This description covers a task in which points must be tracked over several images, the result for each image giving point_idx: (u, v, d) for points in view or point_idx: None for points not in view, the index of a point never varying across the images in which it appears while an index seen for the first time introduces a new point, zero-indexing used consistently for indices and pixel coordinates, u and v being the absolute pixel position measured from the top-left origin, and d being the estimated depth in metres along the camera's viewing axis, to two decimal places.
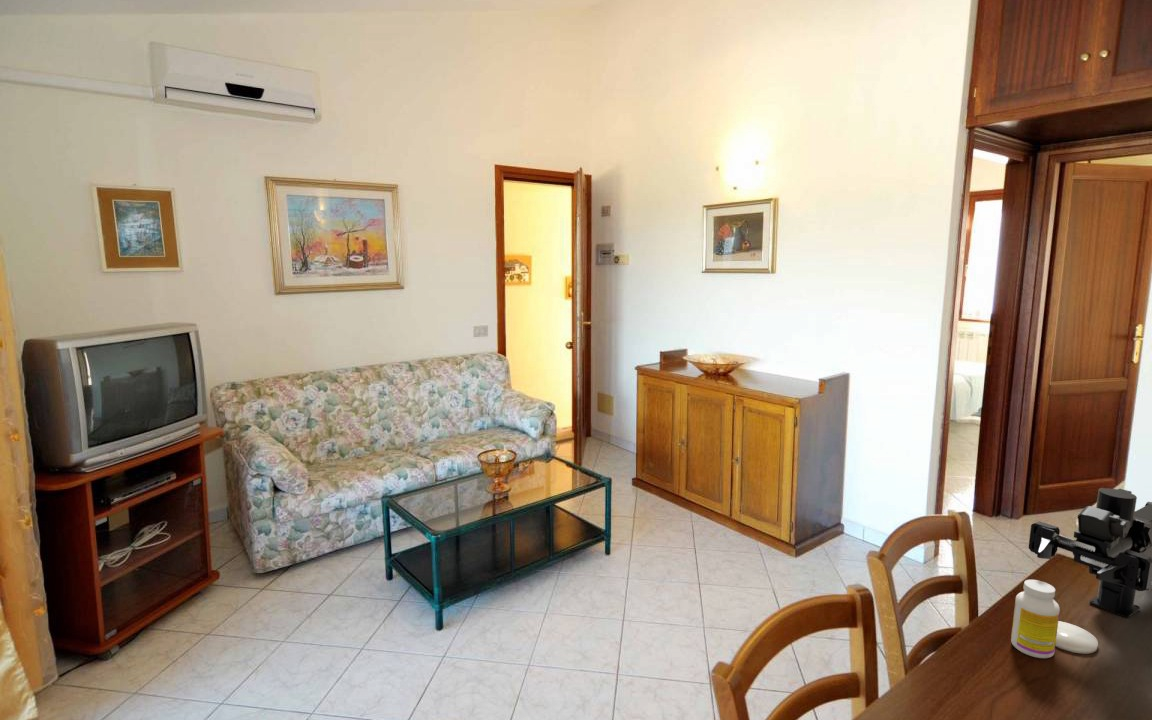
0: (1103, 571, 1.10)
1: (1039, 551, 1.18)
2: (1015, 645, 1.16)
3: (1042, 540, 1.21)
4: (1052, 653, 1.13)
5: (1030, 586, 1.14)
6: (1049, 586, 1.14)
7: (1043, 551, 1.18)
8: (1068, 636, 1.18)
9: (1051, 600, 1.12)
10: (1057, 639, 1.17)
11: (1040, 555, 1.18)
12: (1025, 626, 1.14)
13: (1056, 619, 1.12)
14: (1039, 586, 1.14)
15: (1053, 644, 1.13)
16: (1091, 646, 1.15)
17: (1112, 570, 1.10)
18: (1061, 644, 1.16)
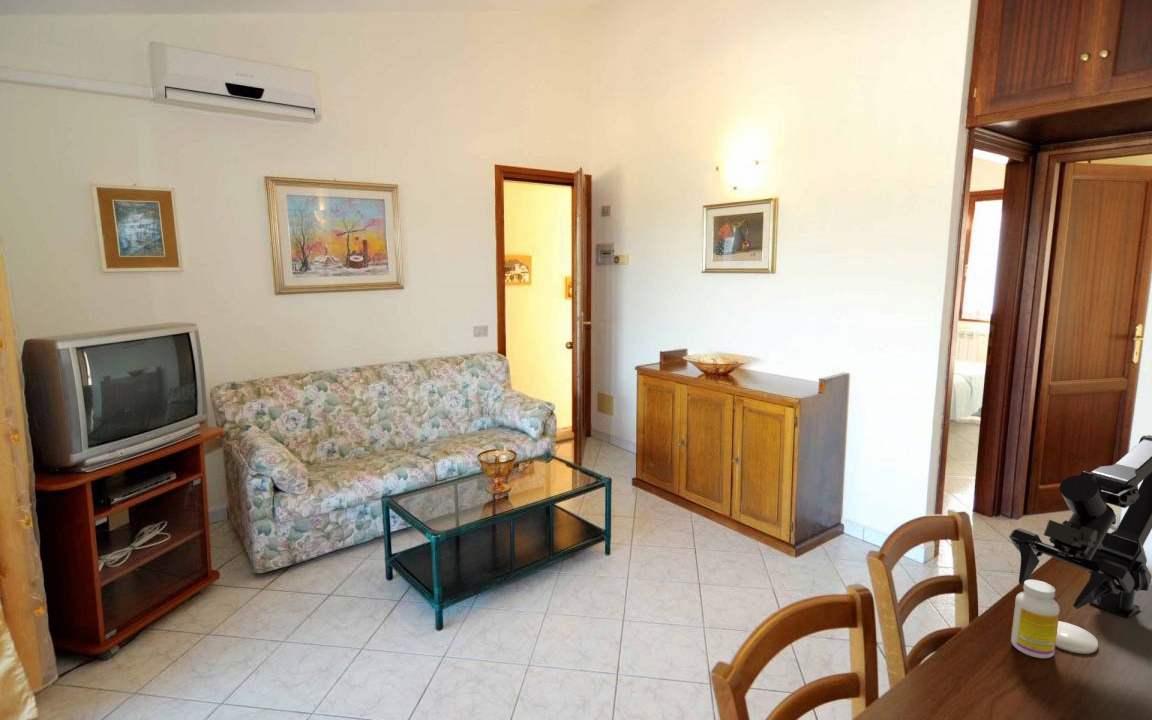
0: (1079, 601, 1.11)
1: (1020, 580, 1.20)
2: (1015, 645, 1.16)
3: (1021, 559, 1.21)
4: (1052, 653, 1.13)
5: (1030, 586, 1.14)
6: (1049, 586, 1.14)
7: (1024, 576, 1.20)
8: (1068, 636, 1.18)
9: (1051, 600, 1.12)
10: (1057, 639, 1.17)
11: (1022, 583, 1.20)
12: (1025, 626, 1.14)
13: (1056, 619, 1.12)
14: (1039, 586, 1.14)
15: (1053, 644, 1.13)
16: (1091, 646, 1.15)
17: (1088, 594, 1.11)
18: (1061, 644, 1.16)
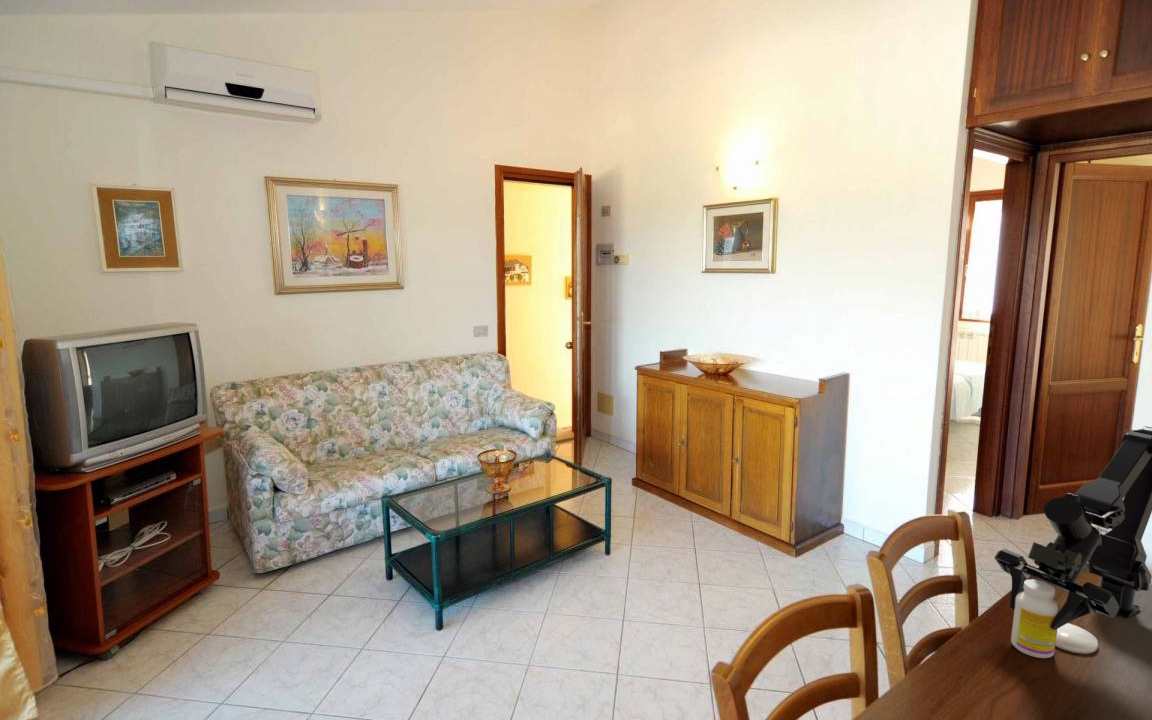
0: (1056, 622, 1.11)
1: (1011, 605, 1.17)
2: (1015, 645, 1.16)
3: (1013, 583, 1.19)
4: (1052, 653, 1.13)
5: (1030, 586, 1.14)
6: (1049, 586, 1.14)
7: None
8: (1068, 636, 1.18)
9: (1051, 600, 1.12)
10: (1057, 639, 1.17)
11: (1013, 608, 1.17)
12: (1025, 626, 1.14)
13: None
14: (1039, 586, 1.14)
15: (1053, 644, 1.13)
16: (1091, 646, 1.15)
17: (1065, 615, 1.11)
18: (1061, 644, 1.16)
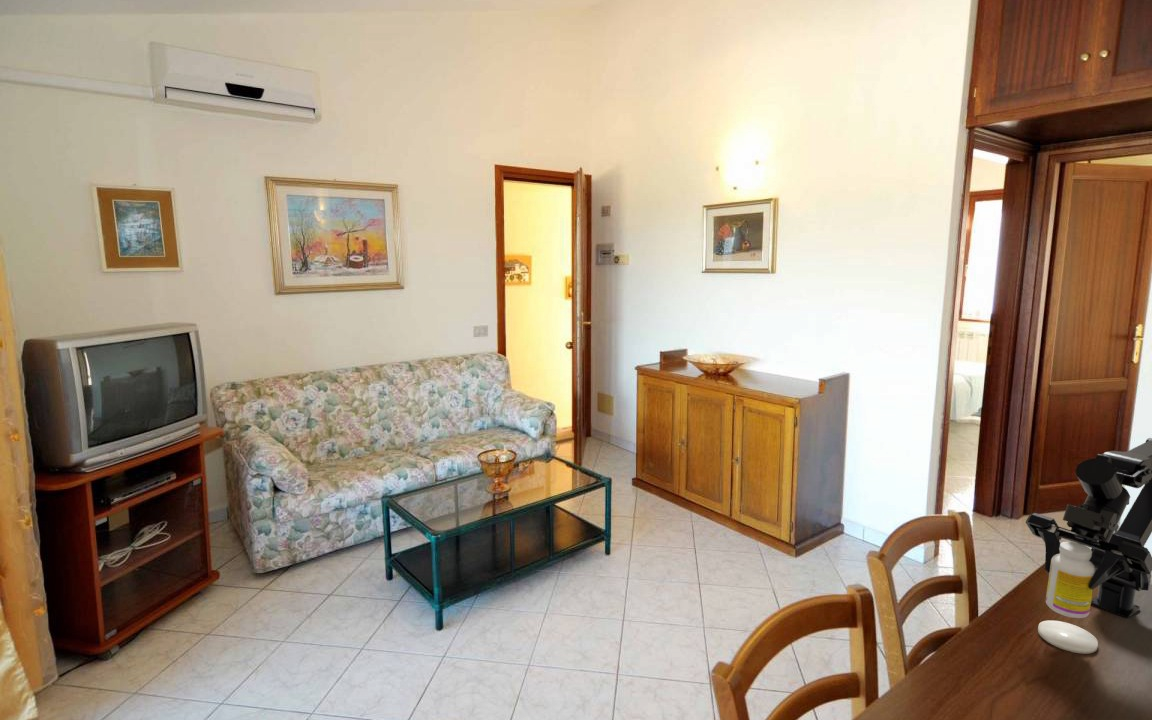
0: (1094, 581, 1.12)
1: (1046, 568, 1.19)
2: (1051, 606, 1.17)
3: (1046, 546, 1.20)
4: (1088, 613, 1.15)
5: (1067, 548, 1.15)
6: (1085, 547, 1.15)
7: (1050, 564, 1.19)
8: (1068, 636, 1.18)
9: (1088, 561, 1.14)
10: (1057, 639, 1.17)
11: (1048, 571, 1.19)
12: (1062, 588, 1.15)
13: None
14: (1075, 548, 1.15)
15: (1089, 604, 1.14)
16: (1091, 646, 1.15)
17: (1103, 575, 1.12)
18: (1061, 644, 1.16)
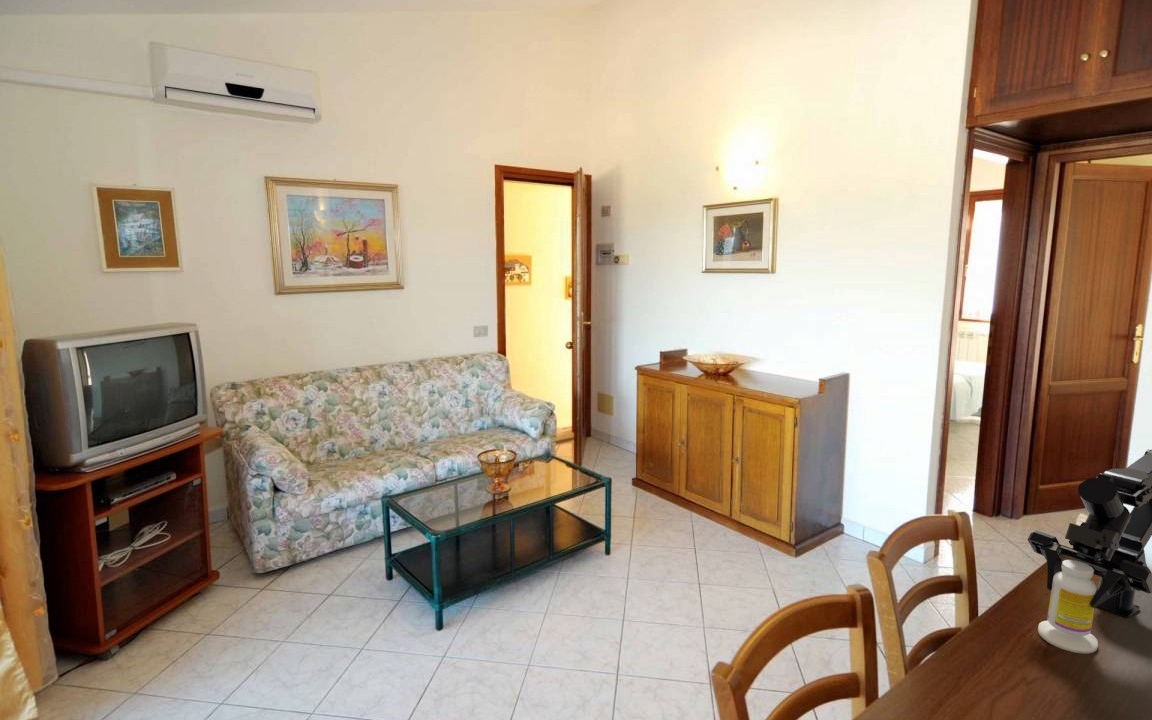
0: (1096, 600, 1.13)
1: (1048, 586, 1.19)
2: (1053, 624, 1.18)
3: (1048, 564, 1.21)
4: (1089, 631, 1.16)
5: (1069, 566, 1.16)
6: (1087, 566, 1.16)
7: (1052, 582, 1.20)
8: (1068, 636, 1.18)
9: (1090, 579, 1.15)
10: (1057, 639, 1.17)
11: (1050, 588, 1.20)
12: (1064, 606, 1.16)
13: None
14: (1078, 566, 1.16)
15: (1091, 622, 1.15)
16: (1091, 646, 1.15)
17: (1104, 593, 1.13)
18: (1061, 644, 1.16)
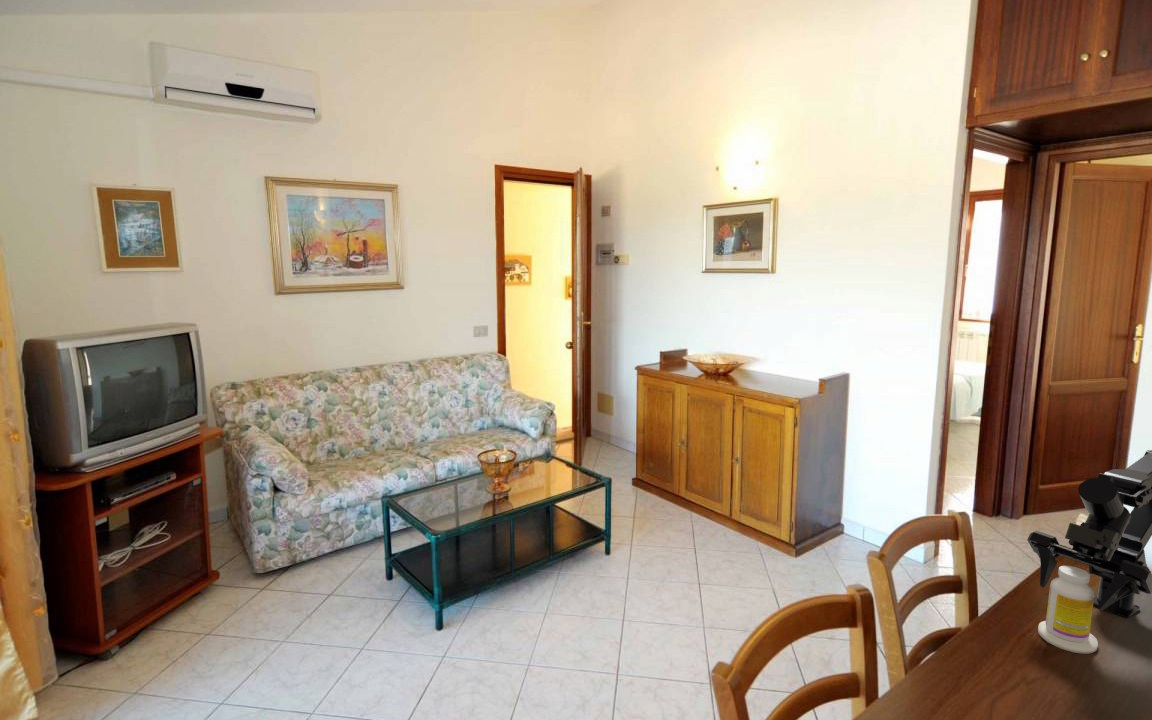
0: (1103, 602, 1.12)
1: (1041, 583, 1.20)
2: (1051, 630, 1.18)
3: (1041, 562, 1.22)
4: (1088, 637, 1.16)
5: (1066, 572, 1.16)
6: (1083, 571, 1.17)
7: (1045, 579, 1.20)
8: None
9: (1086, 585, 1.15)
10: (1057, 639, 1.17)
11: (1043, 586, 1.20)
12: (1062, 612, 1.16)
13: (1092, 603, 1.15)
14: (1074, 572, 1.17)
15: (1089, 628, 1.16)
16: (1091, 646, 1.15)
17: (1112, 596, 1.12)
18: (1061, 644, 1.16)
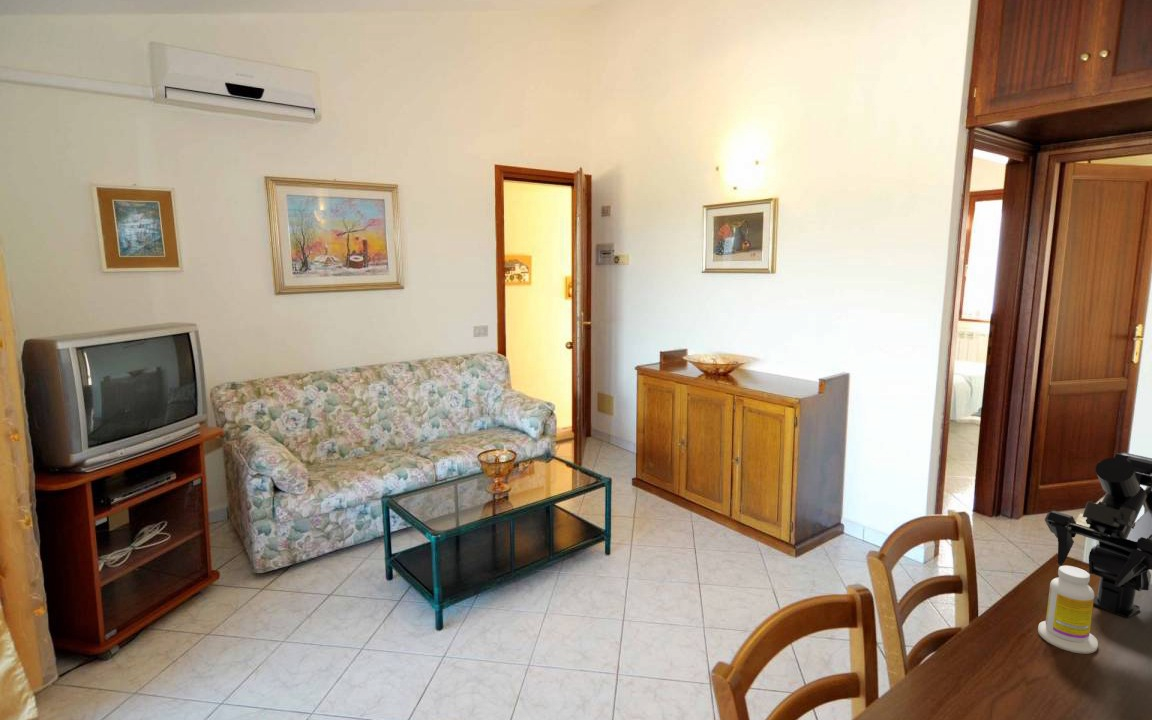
0: (1121, 578, 1.15)
1: (1059, 561, 1.23)
2: (1051, 630, 1.18)
3: (1059, 541, 1.25)
4: (1087, 636, 1.16)
5: (1065, 572, 1.17)
6: (1083, 571, 1.17)
7: (1062, 557, 1.23)
8: None
9: (1086, 585, 1.15)
10: (1057, 639, 1.17)
11: (1060, 564, 1.23)
12: (1061, 612, 1.16)
13: (1092, 603, 1.15)
14: (1074, 572, 1.17)
15: (1089, 628, 1.16)
16: (1091, 646, 1.15)
17: (1129, 572, 1.15)
18: (1061, 644, 1.16)
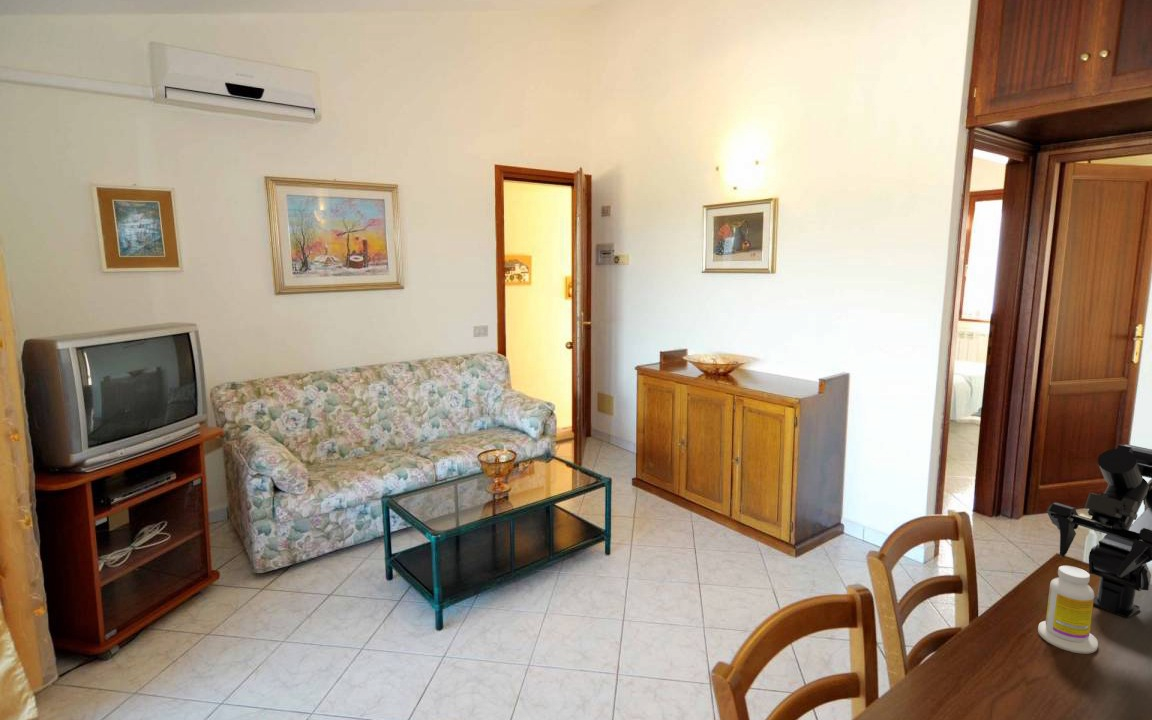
0: (1123, 569, 1.15)
1: (1061, 552, 1.23)
2: (1051, 630, 1.18)
3: (1061, 532, 1.25)
4: (1087, 636, 1.16)
5: (1065, 572, 1.17)
6: (1083, 571, 1.17)
7: (1064, 549, 1.23)
8: None
9: (1086, 585, 1.15)
10: (1057, 639, 1.17)
11: (1063, 555, 1.23)
12: (1061, 612, 1.16)
13: (1092, 603, 1.15)
14: (1074, 572, 1.17)
15: (1089, 628, 1.16)
16: (1091, 646, 1.15)
17: (1131, 563, 1.15)
18: (1061, 644, 1.16)
